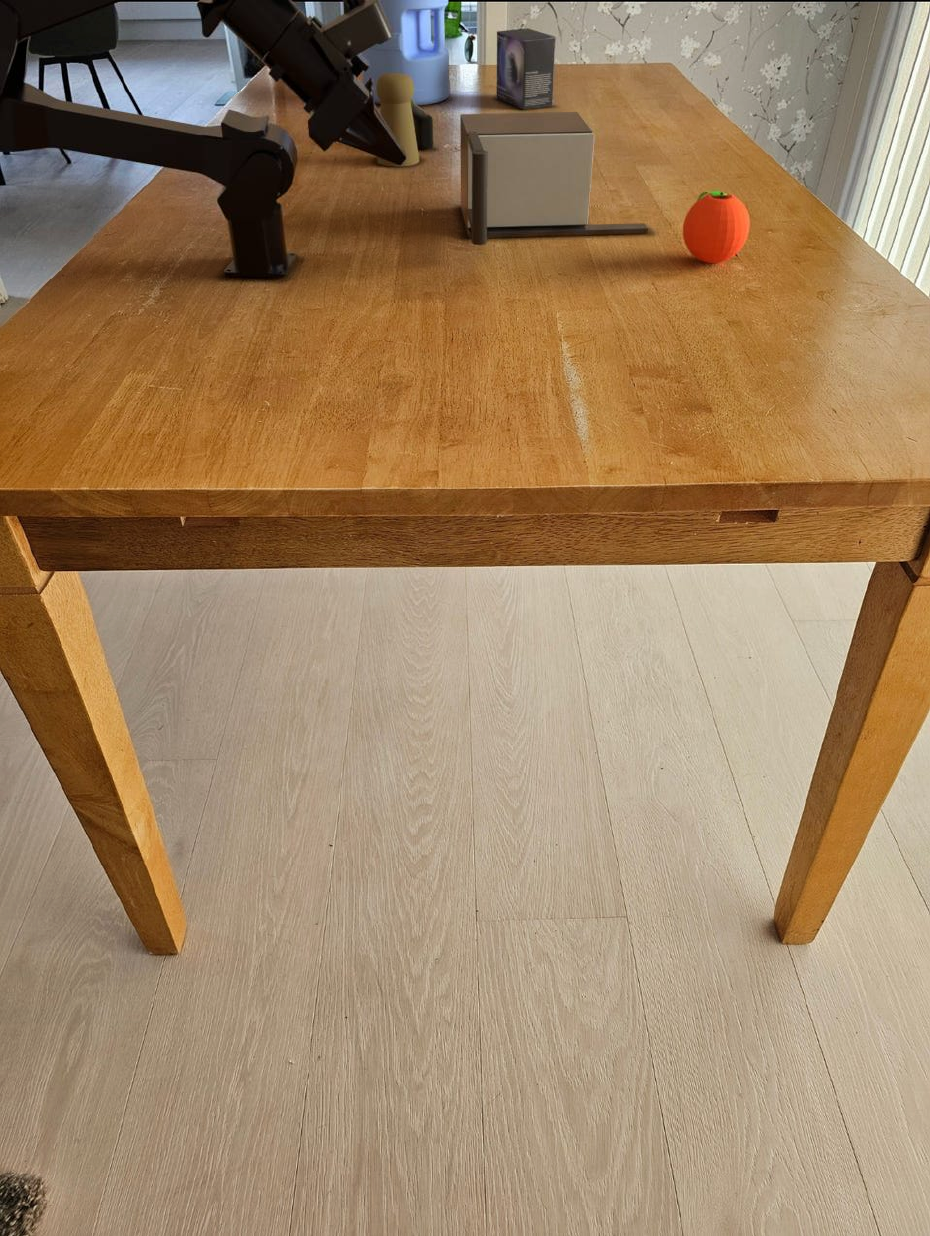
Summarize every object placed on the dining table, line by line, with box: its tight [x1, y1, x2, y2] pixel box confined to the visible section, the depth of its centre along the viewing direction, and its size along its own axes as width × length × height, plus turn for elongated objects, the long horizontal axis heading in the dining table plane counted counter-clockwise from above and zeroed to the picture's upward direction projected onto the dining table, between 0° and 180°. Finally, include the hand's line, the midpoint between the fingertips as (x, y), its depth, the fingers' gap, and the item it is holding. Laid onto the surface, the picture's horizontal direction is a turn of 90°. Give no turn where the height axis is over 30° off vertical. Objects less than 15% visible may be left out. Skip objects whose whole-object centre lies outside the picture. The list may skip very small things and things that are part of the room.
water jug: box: [361, 0, 451, 107], centre depth 159 cm, size 16×16×28 cm
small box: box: [495, 27, 557, 110], centre depth 162 cm, size 11×6×10 cm, turn 25°
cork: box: [376, 73, 420, 168], centre depth 131 cm, size 6×6×11 cm
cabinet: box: [459, 111, 649, 239], centre depth 110 cm, size 21×12×10 cm, turn 94°
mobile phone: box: [410, 99, 434, 150], centre depth 143 cm, size 5×3×15 cm
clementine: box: [682, 190, 751, 264], centre depth 100 cm, size 8×7×7 cm
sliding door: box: [468, 132, 596, 246], centre depth 102 cm, size 14×10×10 cm
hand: (403, 161), depth 95 cm, fingers closed
